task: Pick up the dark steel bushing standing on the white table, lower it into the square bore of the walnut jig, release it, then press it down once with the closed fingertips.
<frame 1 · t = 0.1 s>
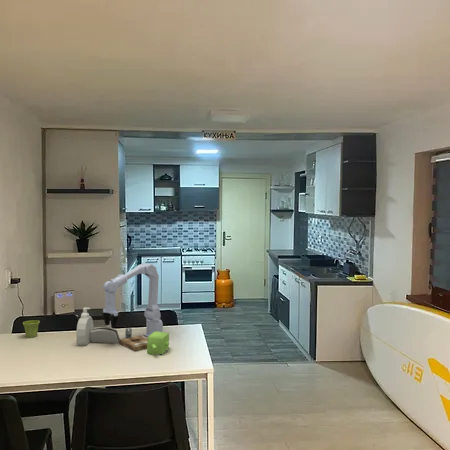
hand: (110, 326, 247), 10 cm above the table, tool pointing down, fingers open, 7 cm apart
plant pot: (31, 336, 262), on the table
grey rounded piece: (104, 342, 251), on the table
jig: (137, 345, 245), on the table
soap bottle: (85, 342, 250), on the table
bushing: (128, 339, 257), on the table
gearbox: (159, 352, 233), on the table
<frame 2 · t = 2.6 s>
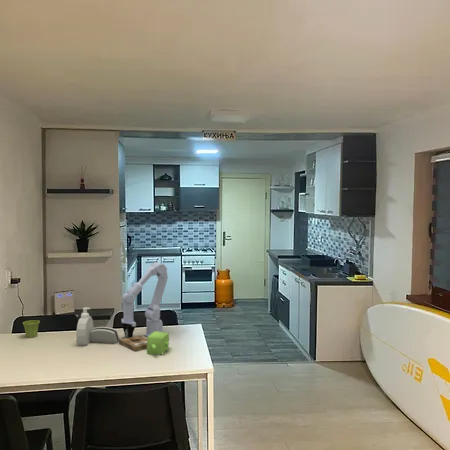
hand: (128, 336, 257), 2 cm above the table, tool pointing down, fingers closed on bushing, 4 cm apart
bushing: (128, 339, 257), on the table, touching gripper
everything else where it was.
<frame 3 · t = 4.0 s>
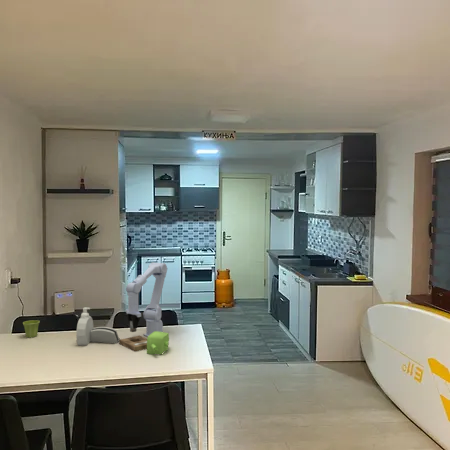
hand: (133, 327, 249), 9 cm above the table, tool pointing down, fingers closed on bushing, 4 cm apart
bushing: (133, 331, 249), point 7 cm above the table, touching gripper
everything else where it was.
when the fingers open (3 cm above the table, at t = 5.7 s): bushing stays where it is, resting in jig.
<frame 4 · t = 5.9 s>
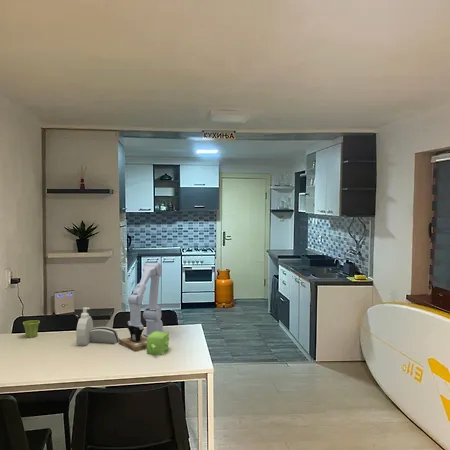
hand: (135, 339, 246), 3 cm above the table, tool pointing down, fingers open, 5 cm apart
bushing: (135, 344, 246), resting in jig
everything else where it was.
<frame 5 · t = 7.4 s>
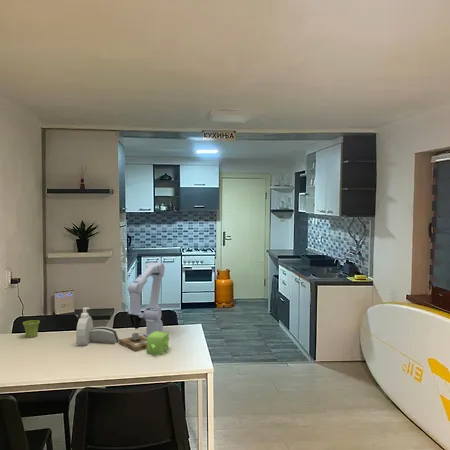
hand: (135, 327, 246), 9 cm above the table, tool pointing down, fingers open, 3 cm apart
nothing on the table moved.
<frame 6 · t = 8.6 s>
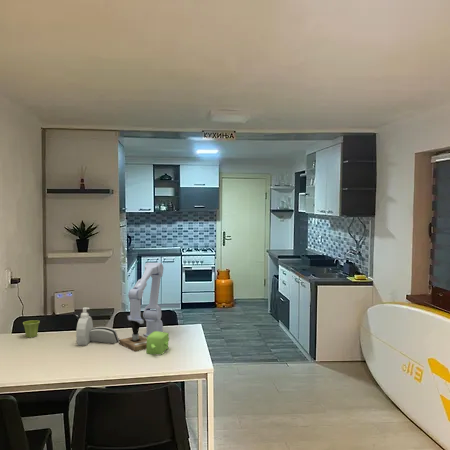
hand: (135, 334, 246), 6 cm above the table, tool pointing down, fingers closed, pressing on bushing
bushing: (135, 344, 246), resting in jig, touching gripper
everything else where it was.
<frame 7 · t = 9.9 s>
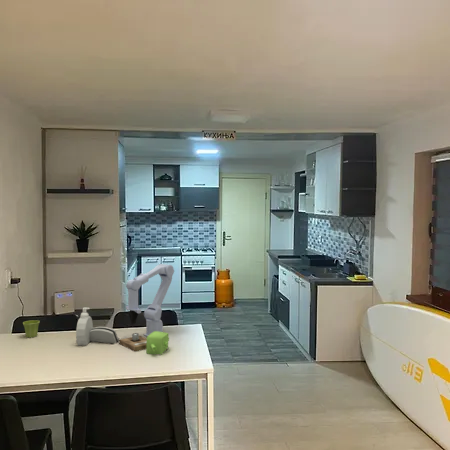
hand: (133, 323, 254), 10 cm above the table, tool pointing down, fingers closed
bushing: (135, 344, 246), resting in jig
everything else where it was.
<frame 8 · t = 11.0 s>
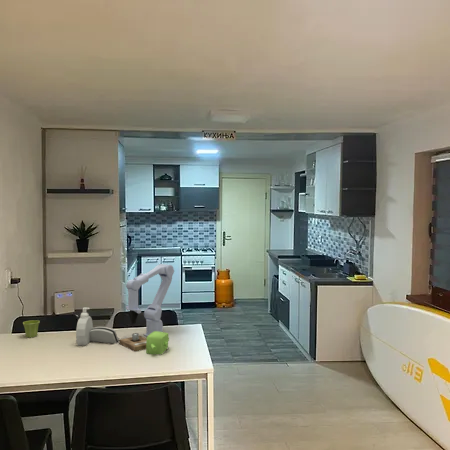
hand: (133, 323, 254), 10 cm above the table, tool pointing down, fingers closed
nothing on the table moved.
at the end: bushing 0.1 cm from the target spot on the jig, point 0.0 cm above the jig's base; bushing tilted 0°; the gripper is holding nothing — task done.
